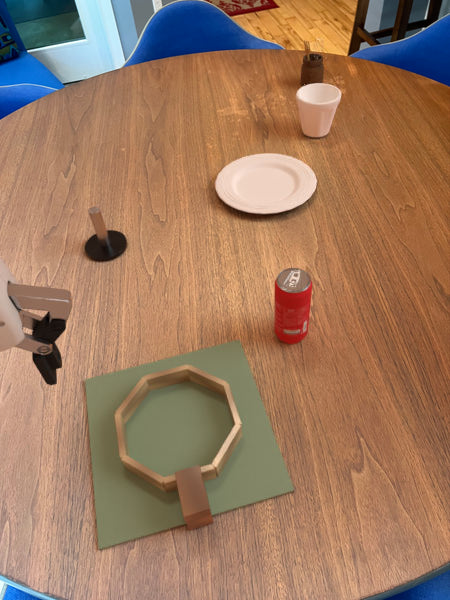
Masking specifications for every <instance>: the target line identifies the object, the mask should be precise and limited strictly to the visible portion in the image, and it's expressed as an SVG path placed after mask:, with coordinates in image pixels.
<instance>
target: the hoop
mask: <svg viewBox="0 0 450 600" xmlns="http://www.w3.org/2000/svg"><path fill="white" fill-rule="evenodd" d="M189 380H191V381H193V382H195V383H197V384H199V385H201V386H204V387H206V388H208V389H210V390H212V391H214V392H216V393H218V394H220V395H222V396H224V397H225V399H226V402H227V405H228V409H229V412H230V415H231V418H232V422H233V425H234V427H233V429H232V430H231V432H230V434H229V435H228V437H227V439H226V440H225V442H224V444H223V445H222V447H221V449H220V450H219V452H218V454H217V455H216V457H215V459H214V460H213V462H212V464H209V465H205V466H202V467H200V465H198V466H194V467H191V468H187V469H184V470H180V471H177V472H175V474H174V475H171V476H167V477H163V476H161V475H159V474H158V473H156V472H154V471H153V470H151V469H149V468H147V467H146V466H144V465H142V464H141V463H139V462H137V461H135V460H134V459H132V458H130V454H129V447H128V440H127V432H126V425H125V424H126V422H127V421H128V420H129V418H130V417H131V416H132V414H133V413H134V412H135V411H136V409H137V408H138V407H139V405H140V404H141V403H142V401H143V400H144V399H145V397H146V396H147V395H148V393H149V392H150V391H151V390H155V389H159V388H163V387H166V386H170V385H174V384H178V383H181V382H185V381H189ZM115 423H116V432H117V440H118V448H119V456H120V459H121V461H122V463H123V464H124V466H125V467H126V469H127V470H129V471H131V472H132V473H134V474H136V475H137V476H139V477H141V478H142V479H144V480H146V481H147V482H149V483H151V484H152V485H154V486H156V487H158V488H159V489H161V490H163V491H164V492H166V491H167V492H172V491H175V490H178V492H179V497H180V502H181V507H182V512H183V517H184V519H185V522H186V524H185V525H186V526H187V528H188V531H191V530H196V529H199V528H202V527H205V526H209V525H211V524H214V517H213V516H212V513H211V509H210V505H209V501H208V496H207V492H206V488H205V484H204V482H206V481H209V480H212V479H216V478H217V477H219V475H220V473H221V472H222V470H223V468H224V466H225V465H226V463H227V461H228V460H229V458H230V456H231V454H232V453H233V451H234V449H235V447H236V446H237V444H238V442H239V441H240V439H241V437H242V424H241V421H240V417H239V414H238V411H237V408H236V405H235V402H234V399H233V395H232V392H231V389H230V386H229V384H228V383H227V382H226V381H224V380H222V379H219V378H217V377H215V376H213V375H211V374H209V373H206V372H204V371H202V370H200V369H198V368H196V367H193V366H191V365H189V366H188V364H187V365H183V366H179V367H176V368H172V369H168V370H164V371H160V372H157V373H153V374H149V375H145V376H144V377H142V378H141V380H140V381H139V382H138V384H137V385H136V386H135V387H134V389H133V390H132V391H131V393H130V394H129V395H128V396H127V398H126V399H125V400H124V402H123V403H122V404H121V405H120V407H119V408H118V409H117V411H116V412H115ZM216 476H217V477H216Z"/></svg>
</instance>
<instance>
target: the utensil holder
mask: <svg viewBox="0 0 450 600" xmlns="http://www.w3.org/2000/svg"><path fill="white" fill-rule="evenodd" d="M318 42H320V44H318ZM303 44H304V52H305V55H304V56H303V58H302V64H301V67H300V86H301V87H303V86H306V85H309V84H315V83H323V82H324V74H325V71H324V70H325V69H324V68H325V66H324V56H323V55H322V50H324V49H323V48H324V47H321V46H324V40H323V38H321V37H319V39H318V38H316V39H315V41H314V44H313V53H311V44H310V41H307V40H305V39H304V41H303ZM316 47H319V50H317V48H316ZM315 50H317V52H315ZM320 51H321V52H320ZM304 84H305V85H304Z"/></svg>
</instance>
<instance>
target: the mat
mask: <svg viewBox="0 0 450 600" xmlns="http://www.w3.org/2000/svg"><path fill="white" fill-rule="evenodd" d="M247 358H248V357H247V355H246V353H245V351H244V347H243V345H242V342H241V340H240V338H239V339H235V340H232V341H227V342H224V343H220V344H216V345H212V346H209V347H205V348H201V349H197V350H193V351H190V352H185V353H181V354H177V355H174V356H170V357H166V358H163V359H159V360H154V361H151V362H146V363H142V364H140V365H134V366H132V367H127V368H124V369H123V368H122V369H120V370H117V371H116V370H115V371H112V372H109V373H104V374H100V375H97V376H93V377H89V378H85V379H84V385H85V386H84V387H85V388H84V389H85V401H86V412H87V423H88V435H89V436H88V437H89V449H90V460H91V473H92V484H93V485H92V486H93V498H94V509H95V510H94V511H95V524H96V532H97V533H96V534H97V546H98V547H97V548H98V550H99V551H102V550H105V549H109V548H111V547H115V546H119V545H122V544H125V543H128V542H131V541H134V540H137V539H141V538H144V537H148V536H151V535H154V534H158V533H161V532H165V531H168V530H170V529H174V528H177V527H181V526H184V525H187V524H186V522H185V519H184V517H183V512H182V507H181V502H180V497H179V492H178V490H175V491H172V492H167V491H166V492H164V491H163V490H161V489H159V488H158V487H156V486H154V485H152V484H151V483H149V482H147V481H146V480H144V479H142V478H141V477H139V476H137V475H136V474H134V473H132V472H131V471H129V470H127V469H126V467H125V466H124V464H123V463H122V461H121V459H120V456H119V448H118V440H117V432H116V423H115V412H116V411H117V409H118V408H119V407H120V405H121V404H122V403H123V402H124V400H125V399H126V398H127V396H128V395H129V394H130V393H131V391H132V390H133V389H134V387H135V386H136V385H137V384H138V382H139V381H140V380H141V378H142V377H144V376H145V375H149V374H153V373H157V372H160V371H164V370H168V369H172V368H176V367H179V366H183V365H187V364H188V366H189V365H191V366H193V367H196V368H198V369H200V370H202V371H204V372H206V373H209V374H211V375H213V376H215V377H217V378H219V379H222V380H224V381H226V382H227V383H228V384H229V386H230V389H231V392H232V395H233V399H234V402H235V405H236V408H237V411H238V414H239V417H240V421H241V424H242V437H241V439H240V441H239V442H238V444H237V446H236V447H235V449H234V451H233V453H232V454H231V456H230V458H229V460H228V461H227V463H226V465H225V466H224V468H223V470H222V472H221V473H220V475H219V477H217V476H216V477H217V478H216V479H212V480H209V481H206V482H204V484H205V488H206V492H207V496H208V501H209V505H210V509H211V513H212V517H213V516H217V515H220V514H224V513H227V512H230V511H234V510H237V509H240V508H243V507H246V506H251V505H253V504H257V503H261V502H263V501H267V500H270V499H273V498H276V497H277V498H278V497H280V496H283V495H286V494H290V493H293V492H295V488H294V486H293V482H292V480H291V477H290V475H289V471H288V469H287V466H286V463H285V460H284V458H283V455H282V453H281V449H280V447H279V444H278V441H277V439H276V436H275V433H274V430H273V427H272V424H271V422H270V419H269V417H268V414H267V411H266V408H265V405H264V403H263V400H262V397H261V394H260V391H259V389H258V386H257V383H256V380H255V377H254V375H253V372H252V369H251V366H250V364H249V361H248V359H247ZM125 425H126V432H127V440H128V447H129V454H130V458H132V459H134V460H135V461H137V462H139V463H141V464H142V465H144V466H146V467H147V468H149V469H151V470H153V471H154V472H156V473H158V474H159V475H161V476H163V477H167V476H171V475H174V474H175V472H177V471H180V470H184V469H187V468H191V467H194V466H198V465H200V467H202V466H205V465H209V464H212V462H213V460H214V459H215V457H216V455H217V454H218V452H219V450H220V449H221V447H222V445H223V444H224V442H225V440H226V439H227V437H228V435H229V434H230V432H231V430H232V429H233V427H234V425H233V422H232V418H231V415H230V412H229V409H228V405H227V402H226V399H225V397H224V396H222V395H220V394H218V393H216V392H214V391H212V390H210V389H208V388H206V387H204V386H201V385H199V384H197V383H195V382H193V381H191V380H189V381H185V382H181V383H178V384H174V385H170V386H166V387H163V388H159V389H155V390H151V391H150V392H149V393H148V395H147V396H146V397H145V399H144V400H143V401H142V403H141V404H140V405H139V407H138V408H137V409H136V411H135V412H134V413H133V414H132V416H131V417H130V418H129V420H128V421H127V422H126V424H125Z"/></svg>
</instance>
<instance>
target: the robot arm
mask: <svg viewBox="0 0 450 600" xmlns="http://www.w3.org/2000/svg"><path fill="white" fill-rule="evenodd" d="M72 308H73V296H72V292H71V291H70V290H69V289H64V288H56V287H55V288H54V287H47V286H37V285H28V284H21V283H19V282H18V280H17V278H16V276H15V275H14V274H13V272H12V270H11V269H10V268H9V266H8V265H7V263H6V262H5V260H4V259H3V258H2V256H1V255H0V353H1V352H5V351H8V350H11V349H12V348H18V349H21V350H24V351H27V352H30V353H31V359H32V362H33V364H34V366H35V368H36V369H37V371H38V372H39V374H40V376H41V377H42V379H43V381H44V382H45V383H46V385H49V386H54V385H55V386H56V385H58V373H57V372H58V371H57V370H58V369H62V368H63V359H62V354H61V350H60V349H59V347H58V345H57V343H56V342H57V340H58V339H59V338H60V337H61V336H62V335H63V333H64V332H65V331H66V329H67V323H68V321H69V318H70V315H71V311H72ZM28 310H31V311H44V312H46V314H45V315H44V316H42V315H38V314H36V313H33V312H30V311H28ZM24 328H25V329H28V330H31V334H30V333H27V332H25V331H24Z"/></svg>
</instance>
